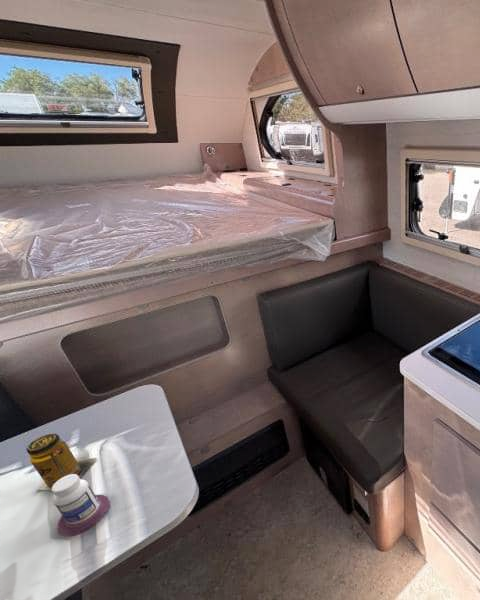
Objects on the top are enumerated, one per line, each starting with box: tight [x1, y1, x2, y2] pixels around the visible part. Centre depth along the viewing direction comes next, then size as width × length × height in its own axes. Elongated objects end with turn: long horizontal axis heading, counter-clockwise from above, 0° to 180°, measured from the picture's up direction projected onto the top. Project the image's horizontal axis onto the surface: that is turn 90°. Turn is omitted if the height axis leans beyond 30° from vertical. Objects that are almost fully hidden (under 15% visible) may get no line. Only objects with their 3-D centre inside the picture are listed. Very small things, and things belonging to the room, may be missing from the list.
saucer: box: [56, 494, 111, 537], centre depth 70 cm, size 8×8×1 cm
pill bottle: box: [51, 474, 99, 524], centre depth 68 cm, size 5×5×10 cm
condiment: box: [26, 433, 98, 491], centre depth 77 cm, size 7×8×12 cm
